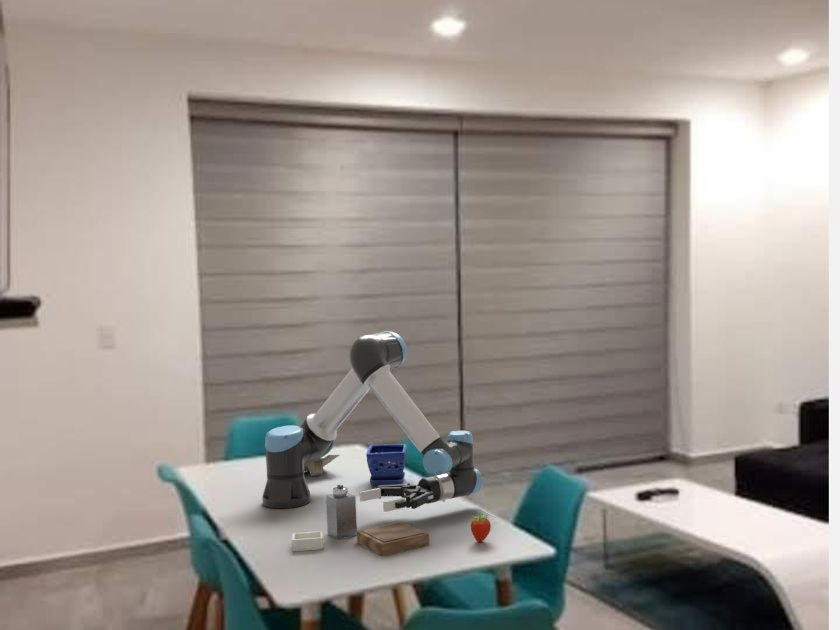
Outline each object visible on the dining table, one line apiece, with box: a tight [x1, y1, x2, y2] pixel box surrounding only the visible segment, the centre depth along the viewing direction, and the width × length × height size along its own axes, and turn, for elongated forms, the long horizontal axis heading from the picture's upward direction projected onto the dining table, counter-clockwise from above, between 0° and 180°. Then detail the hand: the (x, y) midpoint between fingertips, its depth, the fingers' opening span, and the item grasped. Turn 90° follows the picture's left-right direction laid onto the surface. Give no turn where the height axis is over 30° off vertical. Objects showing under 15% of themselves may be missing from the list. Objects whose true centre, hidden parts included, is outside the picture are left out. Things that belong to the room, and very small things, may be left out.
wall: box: [304, 454, 340, 477], centre depth 313 cm, size 16×9×15 cm
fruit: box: [470, 513, 492, 543], centre depth 233 cm, size 5×5×8 cm
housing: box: [325, 484, 358, 541], centre depth 243 cm, size 6×6×14 cm
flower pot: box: [365, 443, 408, 487], centre depth 299 cm, size 13×13×12 cm
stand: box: [356, 521, 430, 557], centre depth 234 cm, size 14×14×3 cm
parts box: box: [291, 530, 324, 552], centre depth 234 cm, size 8×6×3 cm
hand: (371, 501), depth 248 cm, fingers open, 13 cm apart
